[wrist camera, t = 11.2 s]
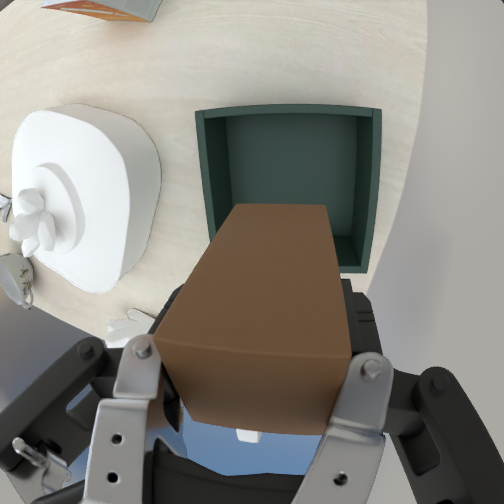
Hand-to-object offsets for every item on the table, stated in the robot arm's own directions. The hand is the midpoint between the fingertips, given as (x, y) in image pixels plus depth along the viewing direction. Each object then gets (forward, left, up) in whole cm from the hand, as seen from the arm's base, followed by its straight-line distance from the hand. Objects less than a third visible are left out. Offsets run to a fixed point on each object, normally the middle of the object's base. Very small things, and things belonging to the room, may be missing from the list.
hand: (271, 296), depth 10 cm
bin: (0, 0, -22) cm, 22 cm away
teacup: (+61, +17, -22) cm, 67 cm away
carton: (0, 0, -4) cm, 4 cm away
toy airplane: (+63, 0, -22) cm, 67 cm away
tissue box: (+30, 0, -22) cm, 37 cm away
